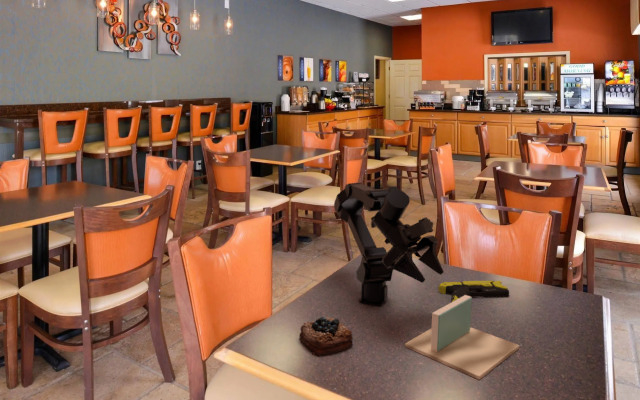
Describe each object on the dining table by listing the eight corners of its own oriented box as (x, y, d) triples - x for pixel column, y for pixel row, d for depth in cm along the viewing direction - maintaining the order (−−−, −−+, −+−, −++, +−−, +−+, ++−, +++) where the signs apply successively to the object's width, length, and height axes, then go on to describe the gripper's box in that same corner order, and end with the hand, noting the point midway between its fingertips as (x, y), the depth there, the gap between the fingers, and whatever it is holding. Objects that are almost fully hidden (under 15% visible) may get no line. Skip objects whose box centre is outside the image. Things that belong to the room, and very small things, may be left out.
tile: (430, 349, 114) (432, 313, 112) (463, 328, 124) (465, 295, 122) (437, 352, 113) (439, 315, 111) (470, 331, 122) (472, 297, 120)
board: (405, 346, 117) (405, 343, 117) (447, 321, 129) (447, 318, 129) (479, 379, 104) (479, 376, 104) (519, 348, 116) (519, 345, 116)
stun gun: (521, 300, 136) (500, 279, 150) (451, 301, 135) (437, 280, 150) (520, 310, 136) (499, 288, 151) (450, 311, 136) (436, 289, 151)
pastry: (316, 360, 112) (316, 336, 111) (294, 337, 123) (293, 315, 121) (358, 348, 117) (358, 325, 116) (333, 327, 128) (333, 305, 126)
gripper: (391, 212, 117) (435, 264, 111) (430, 204, 131) (471, 249, 125) (365, 243, 123) (405, 293, 117) (405, 232, 137) (443, 277, 131)
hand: (433, 277), depth 122 cm, fingers open, 9 cm apart
